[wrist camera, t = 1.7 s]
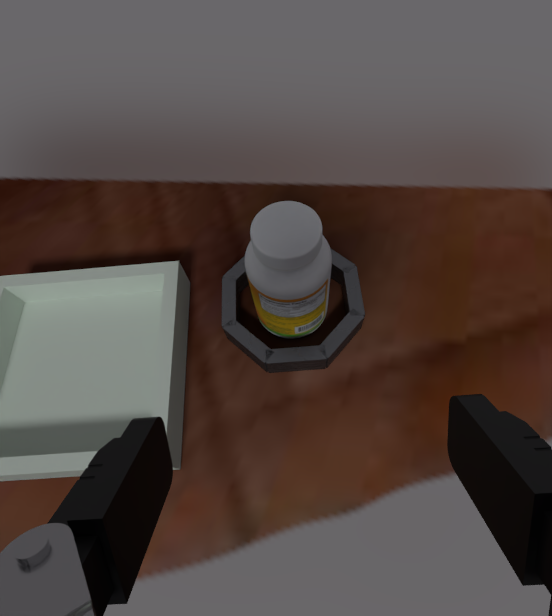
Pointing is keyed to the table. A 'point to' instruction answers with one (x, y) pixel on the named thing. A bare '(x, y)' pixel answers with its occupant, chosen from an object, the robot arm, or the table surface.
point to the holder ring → (293, 356)
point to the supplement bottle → (289, 269)
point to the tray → (88, 363)
